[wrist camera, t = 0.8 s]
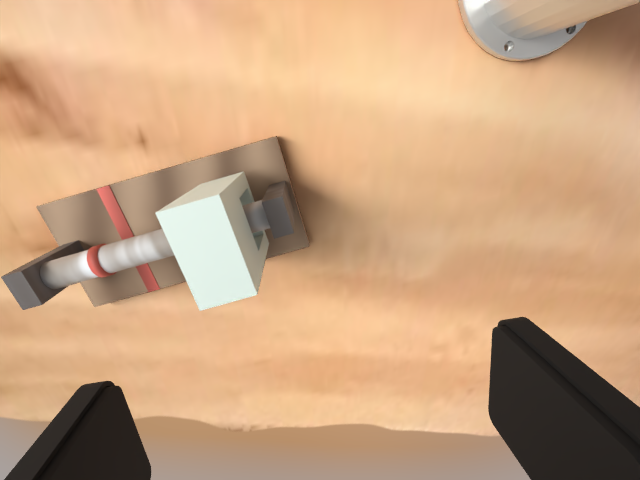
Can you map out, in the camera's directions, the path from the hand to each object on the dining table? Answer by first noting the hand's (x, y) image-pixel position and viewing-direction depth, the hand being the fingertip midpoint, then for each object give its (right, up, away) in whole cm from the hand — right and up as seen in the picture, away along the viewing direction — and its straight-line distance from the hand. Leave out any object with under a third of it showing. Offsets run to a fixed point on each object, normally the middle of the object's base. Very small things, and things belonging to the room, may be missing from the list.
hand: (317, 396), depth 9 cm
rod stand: (-14, +6, +25) cm, 29 cm away
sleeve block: (-8, +6, +22) cm, 24 cm away
